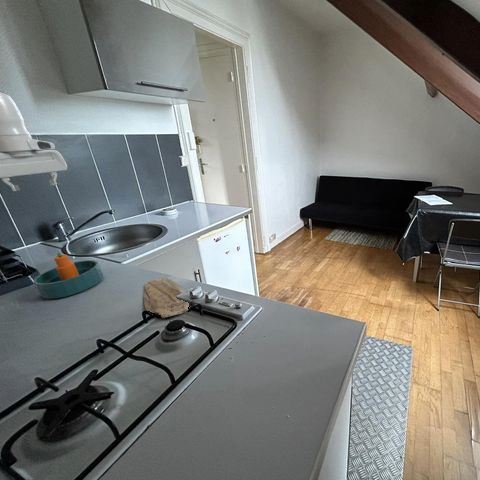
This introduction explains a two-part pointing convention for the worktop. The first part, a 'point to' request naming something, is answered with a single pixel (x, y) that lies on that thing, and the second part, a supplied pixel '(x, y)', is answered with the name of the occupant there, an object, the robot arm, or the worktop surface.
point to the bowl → (69, 280)
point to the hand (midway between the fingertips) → (36, 188)
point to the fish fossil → (164, 298)
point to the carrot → (65, 267)
